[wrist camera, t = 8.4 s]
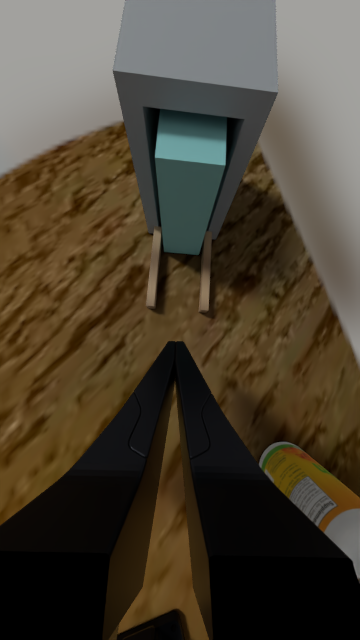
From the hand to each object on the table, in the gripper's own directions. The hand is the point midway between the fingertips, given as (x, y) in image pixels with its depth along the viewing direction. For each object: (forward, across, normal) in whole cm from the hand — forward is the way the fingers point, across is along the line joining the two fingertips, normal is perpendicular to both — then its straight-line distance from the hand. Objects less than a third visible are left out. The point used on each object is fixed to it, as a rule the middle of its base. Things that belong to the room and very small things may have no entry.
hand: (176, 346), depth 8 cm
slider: (+15, 0, -5) cm, 16 cm away
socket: (+18, 0, -8) cm, 19 cm away
